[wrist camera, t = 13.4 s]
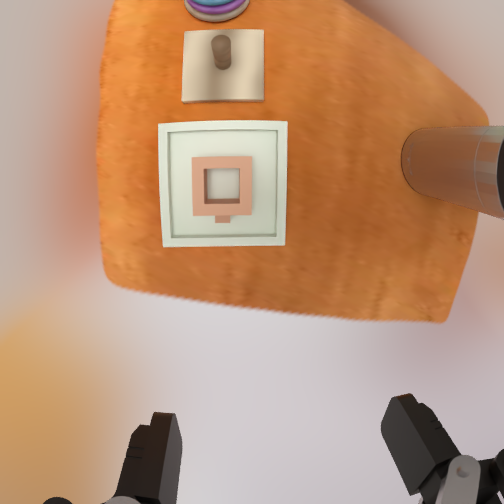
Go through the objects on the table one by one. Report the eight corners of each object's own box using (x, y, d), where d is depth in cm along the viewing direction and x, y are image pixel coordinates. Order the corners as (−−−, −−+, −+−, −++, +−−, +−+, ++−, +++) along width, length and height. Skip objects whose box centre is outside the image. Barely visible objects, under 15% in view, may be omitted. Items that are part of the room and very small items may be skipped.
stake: (262, 34, 29) (270, 5, 21) (262, 101, 32) (270, 86, 24) (186, 36, 28) (175, 7, 21) (183, 103, 31) (169, 89, 24)
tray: (284, 123, 33) (287, 121, 31) (282, 240, 37) (284, 245, 35) (162, 125, 32) (158, 123, 30) (166, 242, 36) (163, 247, 34)
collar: (249, 156, 33) (252, 156, 29) (249, 217, 35) (251, 224, 31) (196, 157, 33) (191, 157, 29) (197, 217, 35) (193, 225, 31)
